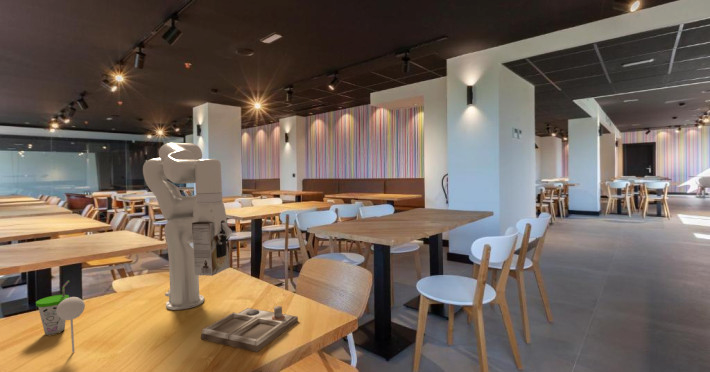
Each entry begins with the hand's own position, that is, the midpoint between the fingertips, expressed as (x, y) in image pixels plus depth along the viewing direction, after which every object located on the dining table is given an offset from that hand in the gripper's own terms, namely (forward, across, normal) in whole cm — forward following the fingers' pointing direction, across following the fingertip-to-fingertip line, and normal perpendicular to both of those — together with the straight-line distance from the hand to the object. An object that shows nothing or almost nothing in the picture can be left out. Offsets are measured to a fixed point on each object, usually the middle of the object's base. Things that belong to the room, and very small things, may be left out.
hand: (212, 255), depth 107 cm
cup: (+22, -43, -22) cm, 53 cm away
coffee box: (+5, 0, 0) cm, 5 cm away
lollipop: (+22, -24, -26) cm, 42 cm away
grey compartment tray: (+22, +13, +2) cm, 26 cm away
